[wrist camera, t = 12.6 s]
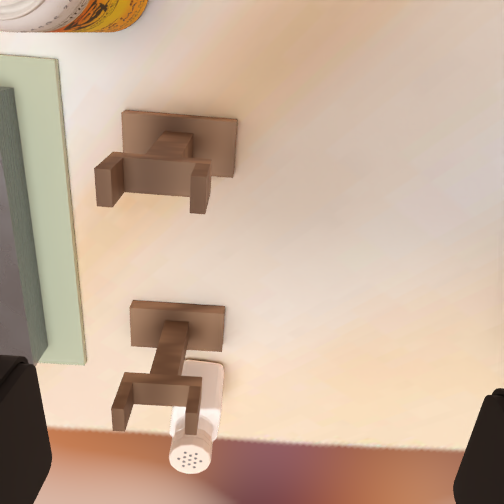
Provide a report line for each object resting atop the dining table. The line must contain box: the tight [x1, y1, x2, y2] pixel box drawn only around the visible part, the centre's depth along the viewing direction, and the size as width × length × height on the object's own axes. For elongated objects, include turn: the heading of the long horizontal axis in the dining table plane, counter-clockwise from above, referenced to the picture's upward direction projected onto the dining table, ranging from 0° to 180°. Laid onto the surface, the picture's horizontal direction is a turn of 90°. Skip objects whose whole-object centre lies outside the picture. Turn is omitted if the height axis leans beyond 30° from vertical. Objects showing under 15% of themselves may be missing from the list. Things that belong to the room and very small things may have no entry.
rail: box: [0, 86, 48, 366], centre depth 35 cm, size 22×3×3 cm, turn 175°
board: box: [0, 54, 87, 365], centre depth 36 cm, size 9×26×1 cm, turn 175°
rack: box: [94, 110, 237, 435], centre depth 32 cm, size 8×20×12 cm, turn 175°
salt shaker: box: [169, 359, 224, 474], centre depth 39 cm, size 4×4×10 cm
